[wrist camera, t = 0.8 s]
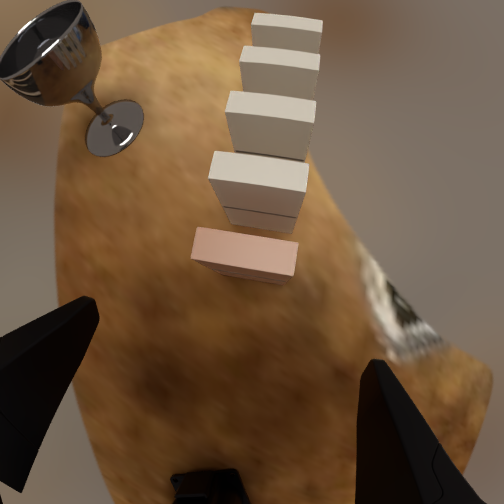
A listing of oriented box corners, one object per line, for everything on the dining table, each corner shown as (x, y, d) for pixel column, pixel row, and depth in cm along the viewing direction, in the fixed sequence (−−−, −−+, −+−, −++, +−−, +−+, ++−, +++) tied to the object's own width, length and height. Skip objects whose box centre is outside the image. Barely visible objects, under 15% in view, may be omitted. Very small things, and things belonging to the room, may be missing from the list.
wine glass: (158, 97, 28) (101, -10, 13) (130, 164, 27) (39, 69, 12) (100, 96, 28) (33, 12, 14) (71, 157, 27) (-19, 85, 13)
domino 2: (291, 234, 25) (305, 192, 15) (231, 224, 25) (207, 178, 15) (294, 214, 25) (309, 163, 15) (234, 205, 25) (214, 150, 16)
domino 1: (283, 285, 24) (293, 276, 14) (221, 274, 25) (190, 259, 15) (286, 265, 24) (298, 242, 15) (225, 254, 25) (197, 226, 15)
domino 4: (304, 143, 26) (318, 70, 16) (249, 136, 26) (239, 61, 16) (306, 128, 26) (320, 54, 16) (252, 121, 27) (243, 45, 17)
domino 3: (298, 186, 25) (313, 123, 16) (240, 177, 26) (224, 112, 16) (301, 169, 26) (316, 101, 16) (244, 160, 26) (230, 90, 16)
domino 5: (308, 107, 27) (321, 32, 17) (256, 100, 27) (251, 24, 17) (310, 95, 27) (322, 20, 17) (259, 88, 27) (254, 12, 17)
